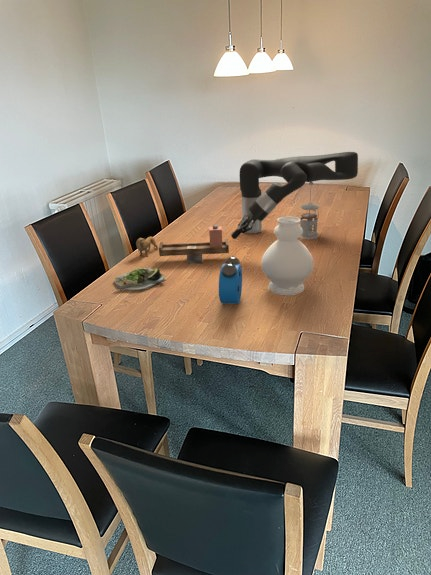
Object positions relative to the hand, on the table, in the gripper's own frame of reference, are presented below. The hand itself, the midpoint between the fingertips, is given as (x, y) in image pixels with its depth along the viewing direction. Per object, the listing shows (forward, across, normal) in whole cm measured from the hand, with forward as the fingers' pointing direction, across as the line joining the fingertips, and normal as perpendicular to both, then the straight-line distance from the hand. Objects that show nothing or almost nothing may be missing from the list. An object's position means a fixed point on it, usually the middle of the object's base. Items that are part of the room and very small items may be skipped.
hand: (232, 237), depth 176 cm
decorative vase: (-5, -29, -19) cm, 35 cm away
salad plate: (+32, -18, +18) cm, 41 cm away
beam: (+18, 0, +5) cm, 18 cm away
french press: (-19, +25, -33) cm, 46 cm away
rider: (+8, 0, +2) cm, 8 cm away
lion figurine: (+32, +10, +19) cm, 39 cm away
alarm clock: (+9, -38, -5) cm, 39 cm away
